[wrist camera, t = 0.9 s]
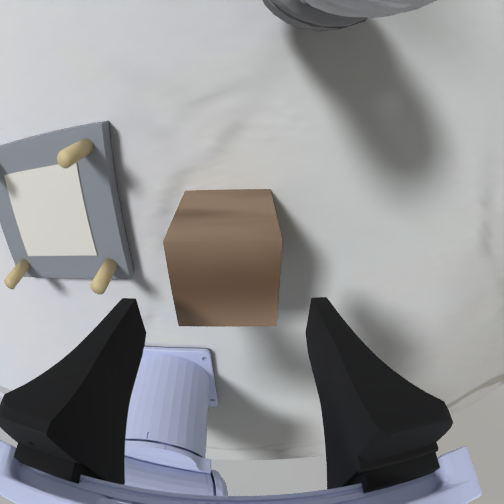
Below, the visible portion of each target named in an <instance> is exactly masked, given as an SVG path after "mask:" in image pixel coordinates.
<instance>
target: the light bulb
mask: <svg viewBox="0 0 504 504" xmlns="http://www.w3.org/2000/svg"><path fill="white" fill-rule="evenodd" d="M262 1H263V2H264V4H265V6H266V7H267V8H268V9H269V10H270V11H271V12H272V13H273V14H274V15H275V16H277V17H279V18H280V19H282V20H283V21H285V22H286V23H288V24H291V25H293V26H295V27H298V28H300V29H307V30H315V31H325V30H335V29H342V28H345V27H348V26H351V25H354V24H358V23H361V22H364V21H365V20H366V19H367V18H375V17H385V16H391V15H395V14H398V13H401V12H407V11H412V10H417V9H419V8H421V7H423V6H425V5H428V4H430V3H432V2H434V1H436V0H262Z"/></svg>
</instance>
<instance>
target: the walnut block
mask: <svg viewBox="0 0 504 504" xmlns="http://www.w3.org/2000/svg"><path fill="white" fill-rule="evenodd" d="M163 243H164V250H165V256H166V262H167V267H168V273H169V279H170V284H171V289H172V295H173V300H174V305H175V310H176V315H177V319H178V324H179V326H275V325H276V323H277V310H278V298H279V284H280V270H281V255H282V236H281V231H280V227H279V223H278V219H277V214H276V210H275V206H274V202H273V198H272V194H271V190H270V189H243V190H197V191H185V193H184V195H183V197H182V199H181V202H180V204H179V206H178V208H177V211H176V213H175V215H174V217H173V220H172V222H171V224H170V227H169V229H168V231H167V234H166V236H165V239H164V241H163Z"/></svg>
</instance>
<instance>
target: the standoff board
mask: <svg viewBox="0 0 504 504" xmlns="http://www.w3.org/2000/svg"><path fill="white" fill-rule="evenodd" d="M0 223H1V226H2V229H3V232H4V235H5V238H6V241H7V244H8V246H9V249H10V252H11V254H12V257H13V260H14V262H15V265H16V266H15V267H14V269H13V270H12V271H11V272H10V273H9V275H8V276H7V277H6V278H5V280H4V281H5V284H6V286H7V287H8V288H10V289H14V288H15V286H16V285H17V284H18V282H19V281H20V280H21V279H22V277H46V278H81V279H93V281H92V283H91V289H92V290H93V291H94V292H95V293H97V294H103V293H104V292H105V290H106V288H107V286H108V284H109V282H110V280H111V279H131V277H132V275H133V272H134V268H133V264H132V259H131V255H130V251H129V246H128V241H127V237H126V232H125V227H124V222H123V217H122V212H121V206H120V201H119V195H118V189H117V183H116V176H115V170H114V163H113V155H112V147H111V139H110V130H109V121H104V122H98V123H92V124H86V125H81V126H76V127H71V128H66V129H62V130H57V131H53V132H48V133H44V134H40V135H36V136H32V137H28V138H25V139H21V140H18V141H14V142H11V143H7V144H4V145H1V146H0Z"/></svg>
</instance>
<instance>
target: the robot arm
mask: <svg viewBox="0 0 504 504" xmlns="http://www.w3.org/2000/svg"><path fill="white" fill-rule="evenodd" d="M145 337H146V331H145V328H144V325H143V321H142V318H141V315H140V311H139V308H138V305H137V301H136V299H128V298H123V299H122V300H121V301H120V302H119V303H118V304H117V305H116V306H115V307H114V308H113V309H112V310H111V311H110V313H109V314H108V315H107V316H106V317H105V318H104V319H103V320H102V321H101V322H100V324H99V325H98V326H97V327H96V328H95V329H94V330H93V331H92V332H91V333H90V334H89V335H88V336H87V337H86V338H85V339H84V340H83V341H82V342H81V343H80V344H79V345H78V346H77V347H76V348H75V349H74V350H73V351H71V352H70V353H69V354H68V355H67V356H66V357H64V358H63V359H62V360H61V361H60V362H58V363H57V364H55V365H54V366H53V367H51V368H50V369H49V370H47V371H46V372H44V373H43V374H41V375H40V376H38V377H37V378H35V379H34V380H32V381H30V382H28V383H27V384H25V385H23V386H21V387H19V388H17V389H15V390H13V391H11V392H9V393H6V394H5V395H4V397H3V399H2V401H1V404H0V427H1V428H2V429H3V430H4V431H5V432H6V433H7V434H8V435H9V436H11V437H12V438H13V439H14V440H15V441H17V442H18V445H17V448H15V447H14V446H12V445H10V444H8V443H6V442H4V441H2V440H0V495H1V496H3V497H5V498H7V499H9V500H10V501H12V502H14V503H16V504H467V503H468V502H470V501H472V500H474V499H476V498H478V497H480V496H481V495H482V492H481V488H480V485H479V482H478V479H477V476H476V473H475V469H474V467H473V463H472V461H471V458H470V455H469V452H468V449H467V447H466V446H463V447H461V448H458V449H456V450H453V451H451V452H448V453H446V454H444V455H442V456H440V457H438V458H437V456H436V453H435V452H436V451H438V446H437V443H436V441H438V440H439V439H440V438H441V437H442V436H443V435H444V434H445V433H446V432H447V431H448V430H449V429H450V428H451V426H452V424H453V421H452V418H451V416H450V413H449V410H448V408H447V406H446V404H445V402H444V401H442V400H440V399H438V398H436V397H434V396H432V395H430V394H428V393H426V392H425V391H423V390H421V389H420V388H418V387H416V386H415V385H413V384H411V383H410V382H408V381H407V380H406V379H404V378H403V377H401V376H400V375H399V374H397V373H396V372H395V371H393V370H392V369H391V368H390V367H388V366H387V365H386V364H385V363H384V362H382V361H381V360H380V359H379V358H378V357H377V356H376V355H375V354H374V353H373V352H372V351H371V350H370V349H369V348H368V347H367V346H366V345H365V344H364V343H363V342H362V341H361V340H360V339H359V337H358V336H357V335H356V334H355V333H354V332H353V330H352V329H351V328H350V327H349V326H348V325H347V323H346V322H345V321H344V320H343V318H342V317H341V316H340V314H339V313H338V312H337V311H336V309H335V308H334V307H333V305H332V304H331V303H330V301H329V300H328V299H327V298H326V297H321V298H311V304H310V310H309V316H308V322H307V328H306V340H307V347H308V354H309V359H310V362H311V366H312V370H313V374H314V378H315V382H316V386H317V390H318V394H319V398H320V403H321V409H322V417H323V425H324V435H325V446H326V461H327V490H320V491H313V492H304V493H295V494H283V495H268V496H228V492H227V486H226V483H225V481H224V480H223V478H222V477H221V475H220V474H219V472H218V471H216V470H211V459H206V458H205V453H206V440H207V422H208V407H216V406H218V398H217V392H216V386H215V379H214V373H213V366H212V359H211V353H210V351H209V350H208V349H197V348H166V347H147V346H144V344H145ZM205 357H206V358H205Z"/></svg>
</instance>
